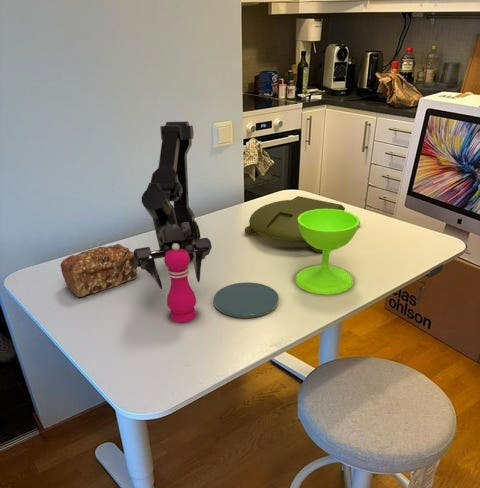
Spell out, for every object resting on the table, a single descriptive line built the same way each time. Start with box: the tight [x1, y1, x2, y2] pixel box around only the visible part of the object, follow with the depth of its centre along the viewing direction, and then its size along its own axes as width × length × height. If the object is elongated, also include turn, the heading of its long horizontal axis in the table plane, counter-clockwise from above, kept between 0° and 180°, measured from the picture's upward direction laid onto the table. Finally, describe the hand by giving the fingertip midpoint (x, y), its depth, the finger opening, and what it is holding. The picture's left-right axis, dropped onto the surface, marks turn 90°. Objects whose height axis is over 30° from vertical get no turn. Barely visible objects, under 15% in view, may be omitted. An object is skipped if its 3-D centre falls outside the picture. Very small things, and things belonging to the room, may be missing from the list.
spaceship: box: [244, 195, 361, 253], centre depth 165 cm, size 35×31×10 cm
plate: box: [213, 281, 280, 319], centre depth 130 cm, size 17×17×1 cm
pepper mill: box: [163, 243, 197, 324], centre depth 120 cm, size 7×7×20 cm
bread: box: [59, 243, 138, 298], centre depth 139 cm, size 19×11×10 cm, turn 127°
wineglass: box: [295, 209, 360, 296], centre depth 134 cm, size 16×16×18 cm
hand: (180, 285), depth 119 cm, fingers open, 9 cm apart
